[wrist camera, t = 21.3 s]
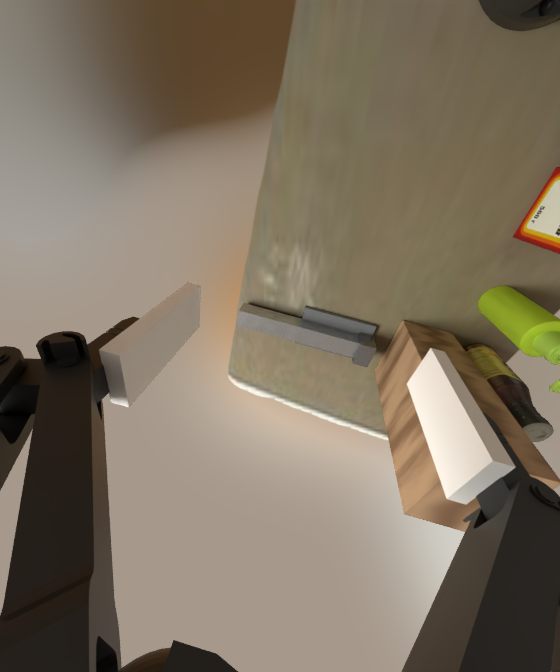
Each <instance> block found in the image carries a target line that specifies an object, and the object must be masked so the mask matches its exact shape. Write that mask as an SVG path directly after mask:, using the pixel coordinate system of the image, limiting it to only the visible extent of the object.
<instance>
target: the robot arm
mask: <svg viewBox="0 0 560 672" xmlns="http://www.w3.org/2000/svg"><path fill="white" fill-rule="evenodd" d="M479 1H480V4H481V6H482V8H483V10H484V12H485V13H486V14H487V16H488V17H489V18H490V19H491V20H492V21H493V22H494V23H496V24H497V25H499V26H501V27H503V28H506V29H509V30H517V31H523V30H531V29H535V28H539V27H542V26H545V25H547V24H549V23H551V22H554V21H555V20H557V19H559V18H560V0H479ZM200 292H201V286H199V285H195V284H192V283H186V284H185V285H184V286H182V287H181V288H180V289H179V290H177V291H176V292H175V293H173V294H172V295H170V296H169V297H168V298H166V299H165V300H164V301H163V302H161V303H160V304H159V305H157V306H156V307H155V308H153V309H152V310H151V311H149V312H148V313H147V314H145V315H144V316H143V317H141V318H136V317H131V318H128V319H125V320H122V321H121V322H119V323H118V324H117V325H115V326H114V327H113V328H111V329H109V330H108V331H106V333H104V334H102V335H101V336H99V337H98V338H96V339H95V340H94V341H92V342H91V343H89V344H88V345H87V343H86V339H85V337H84V336H83V335H82V334H80V333H77V332H72V331H69V332H67V331H66V332H64V331H63V332H58V333H53V334H51V335H48V336H45V337H44V338H42V339H41V340H39V341H38V343H37V345H36V347H37V349H38V352H39V354H40V357H41V359H24V357H23V355H22V353H21V351H20V350H19V349H17V348H15V347H7V346H4V347H0V490H1V488H2V486H3V484H4V482H5V480H6V478H7V477H8V474H9V473H10V471H11V469H12V467H13V465H14V463H15V461H16V459H17V457H18V455H19V454H20V452H21V450H22V448H23V446H24V444H25V442H26V440H27V438H28V436H29V434H30V432H31V430H32V429H33V431H32V437H31V443H30V449H29V455H28V461H27V467H26V473H25V479H24V485H23V491H22V497H21V503H20V509H19V515H18V521H17V527H16V533H15V539H14V545H13V551H12V557H11V563H10V569H9V576H8V581H7V587H6V593H5V599H4V604H3V609H2V613H1V615H0V672H238V671H236V670H235V669H234V668H233V667H232V666H230V665H229V664H228V663H227V662H226V661H225V660H223V659H222V658H221V657H220V656H219V655H217V654H215V653H212V652H209V651H206V650H202V649H200V648H197V647H193V646H190V645H187V644H184V643H181V642H178V641H175V640H174V641H173V643H172V646H171V648H165V649H159V650H156V651H153V652H150V653H147V654H145V655H143V656H141V657H139V658H137V659H135V660H133V661H132V662H130V663H129V664H127V665H126V666H124V667H123V668H121V655H120V654H121V653H120V638H119V627H118V619H117V613H116V608H115V601H114V586H113V570H112V554H111V553H112V552H111V536H110V518H109V500H108V484H107V466H106V449H105V432H104V414H103V403H102V399H103V398H104V397H105V396H106V395H107V394H108V393H109V395H110V399H111V402H112V403H115V404H119V405H122V406H126V407H130V406H131V405H132V403H133V402H134V401H135V400H136V399H137V397H138V396H139V395H140V394H141V393H142V392H143V391H144V390H145V388H146V387H147V386H148V385H149V384H150V383H151V382H152V380H153V379H154V378H155V377H156V376H157V375H158V373H159V372H160V371H161V370H162V369H163V368H164V367H165V365H166V364H167V363H168V362H169V361H170V360H171V359H172V357H173V356H174V355H175V354H176V352H178V350H179V349H180V348H181V347H182V346H183V345H184V344H185V342H186V341H187V340H188V339H189V338H190V337H191V335H192V334H193V333H194V332H195V331H196V330H197V329H198V328H199V321H200ZM407 386H408V388H409V391H410V394H411V397H412V400H413V403H414V406H415V409H416V412H417V415H418V417H419V420H420V423H421V426H422V429H423V432H424V435H425V438H426V441H427V444H428V446H429V449H430V452H431V455H432V458H433V461H434V464H435V467H436V470H437V472H438V475H439V478H440V481H441V484H442V487H443V490H444V493H445V496H446V499H448V500H452V501H455V502H459V503H462V504H468V503H469V502H470V501H472V500H473V499H474V498H477V500H478V502H479V505H480V508H478V509H477V510H475V511H474V512H473V513H471V514H470V515H468V516H467V517H466V518H464V519H463V521H464V522H465V523H466V522H468V521H470V523H469V525H468V527H467V529H466V532H465V534H464V536H463V538H462V540H461V543H460V545H459V547H458V549H457V551H456V554H455V556H454V558H453V560H452V562H451V565H450V567H449V569H448V571H447V573H446V576H445V578H444V580H443V582H442V584H441V586H440V589H439V591H438V593H437V595H436V597H435V600H434V602H433V604H432V606H431V608H430V611H429V613H428V615H427V617H426V619H425V622H424V624H423V626H422V628H421V630H420V633H419V635H418V637H417V639H416V642H415V643H414V646H413V648H412V650H411V652H410V655H409V657H408V659H407V661H406V663H405V665H404V668H403V670H402V672H560V497H559V496H558V494H557V493H556V492H555V491H554V490H552V489H551V488H550V487H549V486H548V485H546V484H545V483H543V482H542V481H540V480H538V479H536V478H533V477H531V476H530V475H529V474H528V472H527V470H526V469H525V467H524V466H523V464H522V463H521V461H520V460H519V458H518V457H517V455H516V453H515V452H514V450H513V449H512V447H511V446H510V445H508V441H507V440H506V438H505V436H503V433H502V432H501V430H500V429H499V427H498V426H497V424H496V423H495V422H494V421H493V420H492V419H491V418H490V417H489V416H488V415H487V414H486V413H484V412H482V411H481V410H480V408H479V407H478V405H477V403H476V402H475V400H474V398H473V397H472V395H471V394H470V392H469V390H468V389H467V387H466V385H465V384H464V382H463V381H462V379H461V377H460V376H459V374H458V372H457V371H456V369H455V368H454V366H453V364H452V363H451V361H450V359H449V358H448V356H447V355H446V353H445V351H441V350H437V349H433V348H430V350H429V351H428V353H427V354H426V356H425V357H424V359H423V360H422V362H421V363H420V365H419V366H418V368H417V369H416V371H415V372H414V374H413V375H412V377H411V378H410V380H409V381H408V383H407Z"/></svg>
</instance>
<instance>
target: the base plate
mask: <svg viewBox="0 0 560 672" xmlns="http://www.w3.org/2000/svg"><path fill="white" fill-rule="evenodd" d="M302 319H304V320H308V321H312V322H315V323H319V324H323V325H326V326H330V327H334V328H337V329H341V330H345V331H348V332H352V333H356V334H359V332H362V333H365V334H369V335H373V333H374V331H375V329H376V324H372V323H368V322H365V321H361V320H357V319H353V318H350V317H346V316H342V315H338V314H335V313H331V312H327V311H324V310H320V309H316V308H312V307H309V306H305V310H304V313H303V317H302ZM295 343H298V344H302V343H299V342H295ZM302 345H305V346H309V347H313V346H310V345H306V344H302ZM313 348H316V349H320V348H317V347H313ZM320 350H324V349H320ZM324 351H327V352H331V351H328V350H324ZM331 353H335V352H331ZM335 354H338V355H342V354H339V353H335ZM342 356H346V355H342ZM346 357H349V356H346ZM349 358H352V357H349Z"/></svg>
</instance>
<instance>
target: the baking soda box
mask: <svg viewBox="0 0 560 672" xmlns="http://www.w3.org/2000/svg"><path fill="white" fill-rule="evenodd" d="M513 237H514V238H517V239H520V240H522V241H525V242H528V243H531V244H533V245H536V246H539V247H542V248H544V249H547V250H550V251H553V252H556V253H558V254H560V167H557V168H556V169H555V171H554V172H553V174H552V176H551V177H550V179H549V180H548V182H547V183H546V185H545V187H544V188H543V190H542V191H541V193H540V195H539V196H538V198H537V199H536V201H535V203H534V204H533V206H532V207H531V209H530V210H529V212H528V214H527V215H526V217H525V218H524V220H523V222H522V223H521V225H520V226H519V228H518V230H517V231H516V233H515V234H514V236H513Z"/></svg>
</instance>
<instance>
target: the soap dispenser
mask: <svg viewBox="0 0 560 672" xmlns="http://www.w3.org/2000/svg"><path fill="white" fill-rule="evenodd" d="M478 309H479V310H480V312H481V313H482V314H483V315H484V316H485V317H487V318H488V319H489V320H490V321H491V322H492V323H493V324H494V325H495V326H496V327H497V328H498V329H499V330H500V331H501V332H502V333H503V334H504V335H505V336H507V337H508V338H509V339H510V340H511V341H512V342H513V343H514V344H515V345H516V346H517V347H518V348H519V349H520V350H521V351H522V352H523V353H525V354H526V355H529V356H534V357H542V356H543V357H544V358H545V359H547V360H548V361H549V362H550V363H552V364H556V365H560V319H559V318H557V317H556V316H554V315H553V314H551V313H549V312H548V311H546V310H545V309H543V308H542V307H540V306H539V305H537V304H536V303H534V302H533V301H531V300H529V299H528V298H526V297H525V296H523V295H522V294H520V293H519V292H517V291H516V290H514V289H513V288H511V287H508V286H497V287H494V288H492V289H490V290H488V291H486V292H485V293H484V294H483V295H482V296H481V298H480V299H479V302H478ZM549 389H550V390H551V391H554V392H559V393H560V380H558V381H557V382H556V383H554V384H552V385H551V386H550V388H549Z"/></svg>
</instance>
